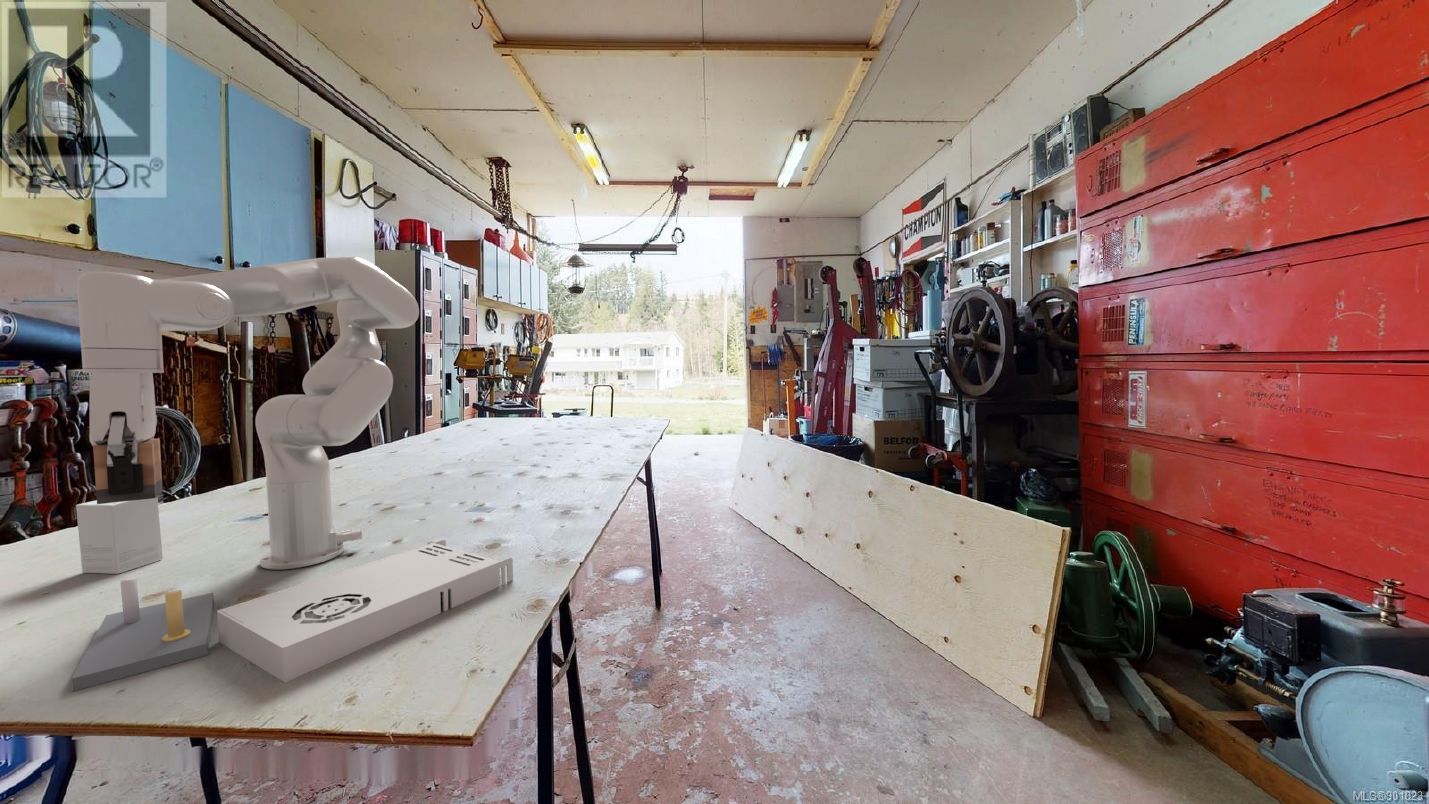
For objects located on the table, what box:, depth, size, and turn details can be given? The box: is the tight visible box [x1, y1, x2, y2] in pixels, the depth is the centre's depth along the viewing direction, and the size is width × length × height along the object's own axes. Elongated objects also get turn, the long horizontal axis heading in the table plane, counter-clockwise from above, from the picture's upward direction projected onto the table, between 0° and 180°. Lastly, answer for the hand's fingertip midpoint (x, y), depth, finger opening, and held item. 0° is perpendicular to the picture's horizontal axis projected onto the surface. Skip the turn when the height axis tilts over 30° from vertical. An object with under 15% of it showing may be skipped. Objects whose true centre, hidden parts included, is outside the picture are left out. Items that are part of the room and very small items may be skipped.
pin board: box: [71, 576, 215, 692], centre depth 70 cm, size 11×20×8 cm, turn 42°
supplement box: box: [75, 496, 164, 575], centre depth 95 cm, size 7×7×13 cm
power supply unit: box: [216, 539, 514, 683], centre depth 79 cm, size 19×33×5 cm, turn 152°
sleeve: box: [92, 438, 163, 504], centre depth 73 cm, size 5×5×8 cm
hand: (131, 488), depth 73 cm, fingers closed on sleeve, 5 cm apart
